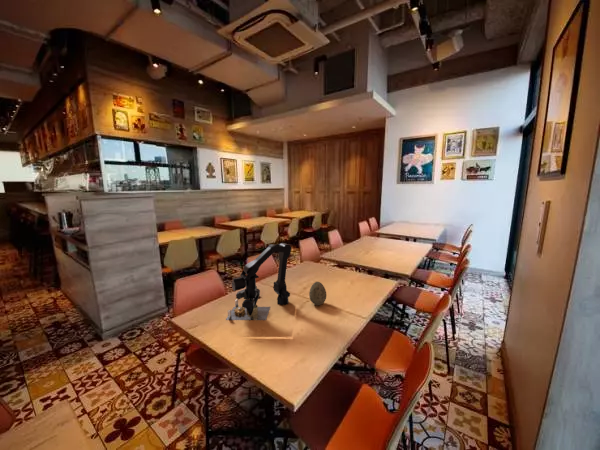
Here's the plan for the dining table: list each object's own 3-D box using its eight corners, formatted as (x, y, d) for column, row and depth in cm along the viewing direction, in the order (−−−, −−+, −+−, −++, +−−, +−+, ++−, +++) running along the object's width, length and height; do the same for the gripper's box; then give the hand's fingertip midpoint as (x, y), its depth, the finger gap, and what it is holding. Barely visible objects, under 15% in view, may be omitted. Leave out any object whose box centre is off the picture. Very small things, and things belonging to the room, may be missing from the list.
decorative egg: (314, 299, 160) (313, 277, 157) (329, 302, 154) (329, 280, 152) (306, 306, 150) (306, 283, 148) (322, 310, 145) (321, 286, 143)
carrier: (270, 308, 149) (270, 299, 148) (266, 321, 134) (265, 311, 133) (234, 308, 150) (233, 299, 149) (225, 321, 135) (224, 311, 134)
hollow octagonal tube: (258, 310, 144) (258, 304, 144) (256, 315, 139) (255, 309, 138) (248, 310, 145) (248, 304, 144) (246, 315, 139) (245, 309, 138)
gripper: (241, 280, 149) (243, 303, 151) (231, 293, 130) (233, 319, 133) (259, 279, 148) (260, 303, 151) (252, 293, 130) (253, 319, 132)
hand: (252, 311), depth 141 cm, fingers open, 9 cm apart
